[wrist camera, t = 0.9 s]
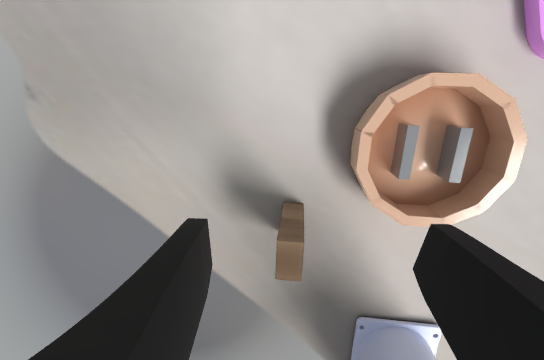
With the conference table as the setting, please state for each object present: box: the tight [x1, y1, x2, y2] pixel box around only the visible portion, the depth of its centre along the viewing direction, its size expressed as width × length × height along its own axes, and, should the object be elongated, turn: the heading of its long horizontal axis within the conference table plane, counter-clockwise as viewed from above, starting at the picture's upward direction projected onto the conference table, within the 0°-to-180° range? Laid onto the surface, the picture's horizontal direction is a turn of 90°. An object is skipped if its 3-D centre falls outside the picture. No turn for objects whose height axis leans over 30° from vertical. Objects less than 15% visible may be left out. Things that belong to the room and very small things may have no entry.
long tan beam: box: [275, 202, 304, 281], centre depth 22 cm, size 3×2×7 cm, turn 178°
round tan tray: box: [350, 73, 528, 227], centre depth 21 cm, size 11×11×3 cm
